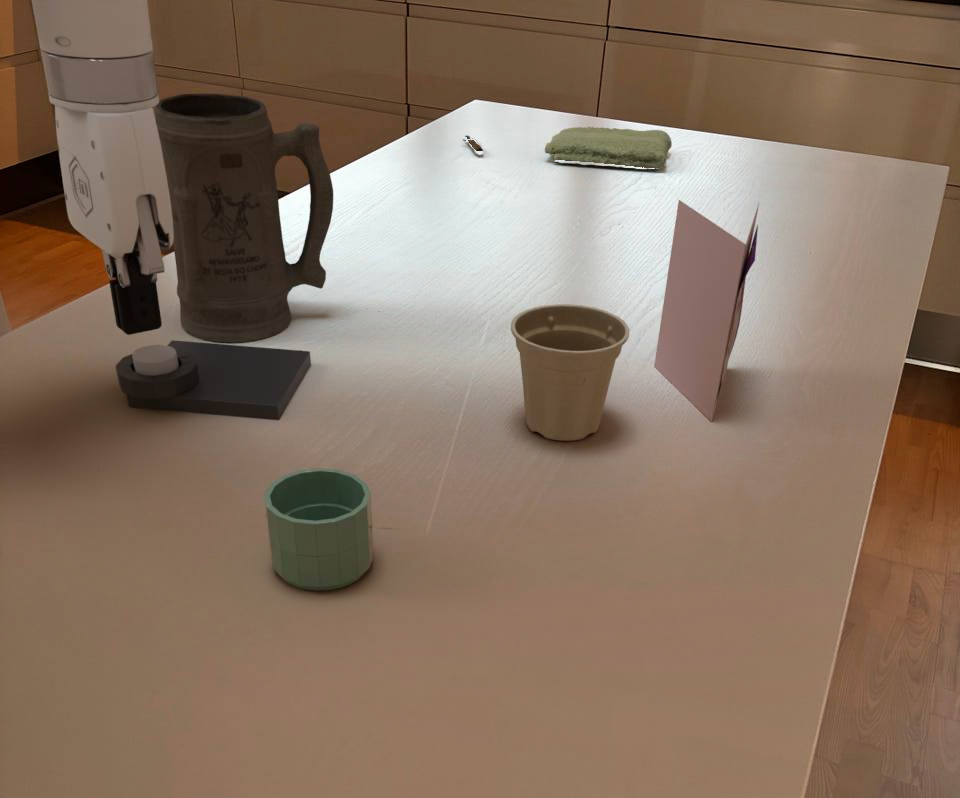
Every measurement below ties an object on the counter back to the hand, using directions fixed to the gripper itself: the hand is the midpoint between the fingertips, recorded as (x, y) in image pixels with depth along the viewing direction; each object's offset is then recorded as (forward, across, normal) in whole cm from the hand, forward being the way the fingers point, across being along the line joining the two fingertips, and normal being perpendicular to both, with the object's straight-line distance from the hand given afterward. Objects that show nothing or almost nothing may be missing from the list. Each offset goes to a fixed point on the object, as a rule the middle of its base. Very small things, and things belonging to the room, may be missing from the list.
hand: (139, 327), depth 84 cm
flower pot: (+5, +24, +26) cm, 36 cm away
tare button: (+4, 0, +1) cm, 4 cm away
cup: (+6, +30, -1) cm, 30 cm away
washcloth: (+4, -35, +88) cm, 94 cm away
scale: (+6, +1, +6) cm, 9 cm away
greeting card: (+5, +25, +40) cm, 48 cm away
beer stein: (+6, -10, +16) cm, 20 cm away
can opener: (+4, -49, +73) cm, 88 cm away
